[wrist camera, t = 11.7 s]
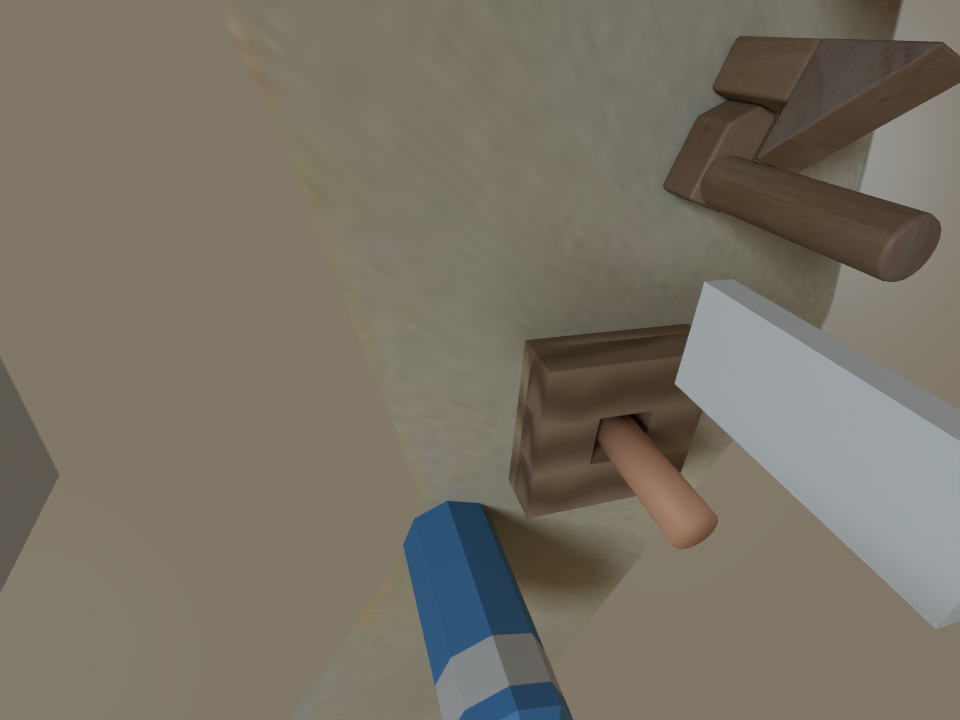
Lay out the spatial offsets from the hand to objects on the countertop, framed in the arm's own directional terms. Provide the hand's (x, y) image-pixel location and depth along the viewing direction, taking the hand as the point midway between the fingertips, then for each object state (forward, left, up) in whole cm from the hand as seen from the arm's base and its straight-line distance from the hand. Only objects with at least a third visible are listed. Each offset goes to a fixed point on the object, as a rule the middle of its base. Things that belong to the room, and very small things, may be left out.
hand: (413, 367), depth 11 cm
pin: (+24, +23, -25) cm, 41 cm away
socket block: (+24, +23, -27) cm, 42 cm away
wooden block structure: (-1, +28, -27) cm, 39 cm away
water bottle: (+38, +9, -27) cm, 47 cm away
